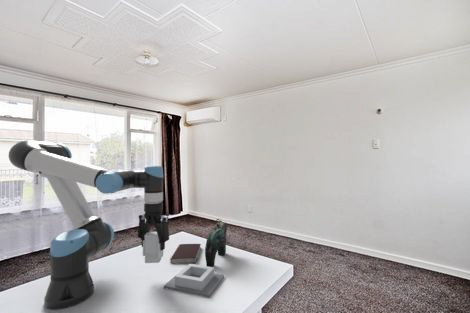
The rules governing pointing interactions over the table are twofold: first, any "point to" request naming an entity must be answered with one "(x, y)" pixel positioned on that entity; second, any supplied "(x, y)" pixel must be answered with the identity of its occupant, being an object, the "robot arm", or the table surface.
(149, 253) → the skincare box
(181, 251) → the book
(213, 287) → the socket dock
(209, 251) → the dark green figurine
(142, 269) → the table surface
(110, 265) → the table surface
